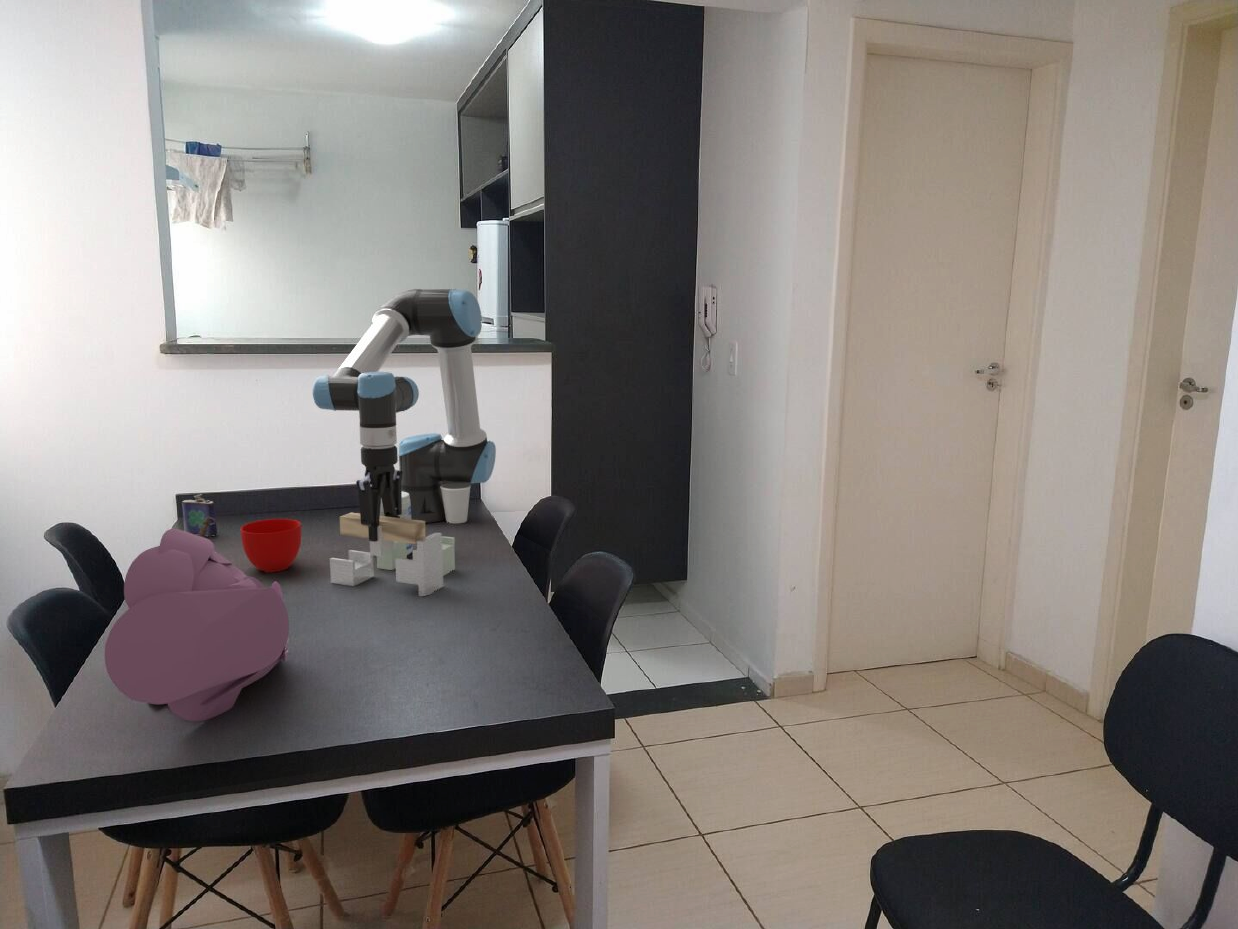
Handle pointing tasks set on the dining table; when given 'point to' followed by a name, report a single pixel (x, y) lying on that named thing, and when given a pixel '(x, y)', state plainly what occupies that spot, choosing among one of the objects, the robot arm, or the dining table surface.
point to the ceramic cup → (271, 543)
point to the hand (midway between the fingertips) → (383, 552)
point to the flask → (198, 515)
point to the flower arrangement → (193, 629)
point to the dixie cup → (456, 501)
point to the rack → (390, 555)
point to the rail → (384, 528)
